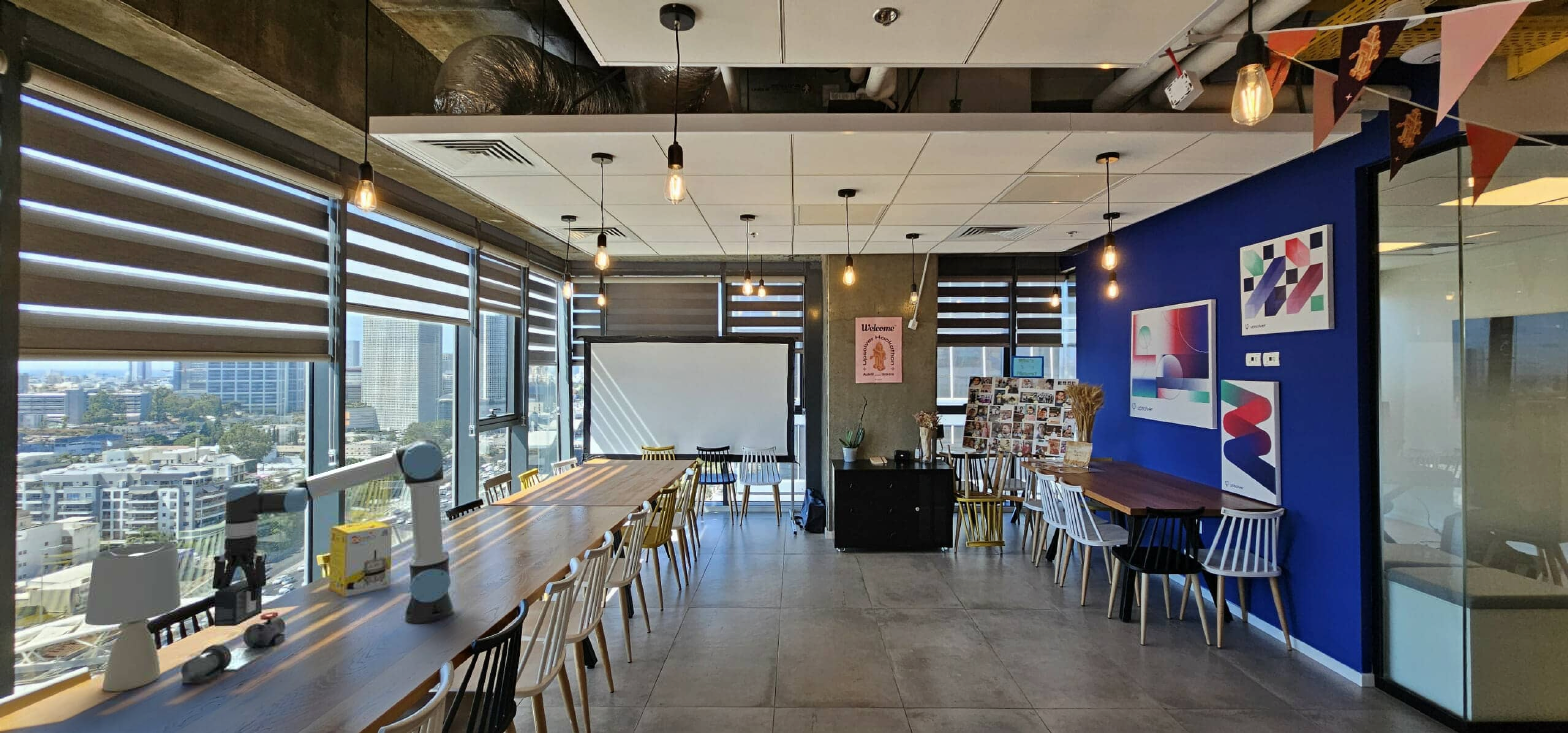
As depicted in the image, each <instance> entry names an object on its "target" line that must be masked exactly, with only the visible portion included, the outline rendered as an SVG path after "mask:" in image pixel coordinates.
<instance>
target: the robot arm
mask: <svg viewBox="0 0 1568 733" xmlns="http://www.w3.org/2000/svg"><path fill="white" fill-rule="evenodd" d="M443 465H444V456H443V453H442V449H441V447H440V446H439V445H438V444H437V442H435V441H432V440H430V439H418V440H416V441H413V442H411V443H409V444H406V445H404V446H401V447H397V448H395V449H393V451H392V452H390V453H386V454H383V455H380V456H377V457H373V458H370V459H367V460H363V461H361V462H357V463H353V464H349V465H346V466H342V467H339V468H336V469H332V470H329V471H326V472H322V473H319V474H315V475H311V476H308V477H306V478H302V479H298V480H291V481H288V482H286V483H284V484H282V485H281V486H280V487H279V488H276V489H261V488H260V485H259V484H258V483H250V482H249V483H239V484H234V485H230V486H229V487H228V488H227V490H226V498H225V523H224V536H225V538H224V547H223V548H224V550H225V551H224V554H223V553H221V554H217V555H216V556H213V562H214V570H213V579H212V589H213V590H215V589H217V591H218V590H221V589H223V588H225V587H228V586H230V585H231V583H232V580H233V577H234V575H235V573H236V570H237V568H238V567H239V568H240V569H241V570H242V571H243V573H244V575H245V579H246V580H247V582H248V585H249V589H250V590H248V591H247V599H246V613H249V612H251V611H254V610H256V600H257V599H258V595H259V588H261V587H262V588H264V587H266V585H267V574H266V560H267V556H268V555H267V553H263V554H260V553H258V552H257V550H256V547H257V546H258V535H257V533H258V520H259V515H271V514H272V515H273V514H287V513H290V514H293V513H297V512H304V511H305V510H306V509H307V506H308V502H309V501H311V500H314V499H317V498H322V497H324V496H328V495H331V494H335V493H338V492H341V491H344V490H347V489H350V488H354V487H356V486H360V485H364V484H367V483H370V482H373V481H377V480H380V479H384V478H386V477H391V476H394V475H396V474H400V475H402V476H403V479H404V485H405V486H407V487H408V488H409V491H410V506H411V508H410V509H411V523H412V539H413V556H412V559H411V560H410V562H409V574H410V584H409V590H410V593H411V595H410V597H411V598H410V599H409V602H408V605H407V608H406V610H405V614H404V620H405V622H407V623H410V624H429V623H435V622H438V621H441V620H444V619H446V618H448V617H450V616H451V615H452V614H453V613H454V605H453V602H452V600H451V596H450V593H449V588H450V587H451V577H450V576H451V575H450V564H449V563H450V553H449V552H448V551H447V550H444V548H443V547H444V545H443V544H444V543H443V532H442V531H443V530H442V515H441V513H442V512H441V500H440V499H441V498H440V497H441V496H440V483H441V482H442V481H443V480H444V466H443Z"/></svg>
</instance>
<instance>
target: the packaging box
mask: <svg viewBox="0 0 1568 733" xmlns="http://www.w3.org/2000/svg"><path fill="white" fill-rule="evenodd" d="M392 529H393V526H392V525H390V524H388V523H384V522H382V521H379V520H374V519H373V520H368V521H362V522H355V523H348V524H343V525H336V526H331V527H330V535H329V536H330V538H329V539H330V541H329V543H330V544H329V545H330V546H329V573H328V575H329V576H328V589H329V590H331V591H332V592H334V593H337V594H338V595H340V596H342V597H343V598H346V597H351V596H356V595H360V594H363V593H368V592H372V591H376V590H380V589H384V588H389V587H391V568H392V565H391V563H392Z"/></svg>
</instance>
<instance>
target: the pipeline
mask: <svg viewBox="0 0 1568 733" xmlns="http://www.w3.org/2000/svg"><path fill="white" fill-rule="evenodd" d="M278 616H279V612H276V611H273V612H272V611H271V612H267V613H264V614H261V615H260V620H262V621H264V622H256V623H253V624H251V625H250V626H248V627H247V628H246V629H245V630H244V633H243V642H244V643H245V644H244V645H245V646H247V647H237V648H235V649H233V650H232V651H230V649H229V648H228V647H227V646H225V645H223V644H220V643H217V644H212V645H210V646H207V647H206V648H204V649H203V650H202V651H201V653H200V655H198V656H196V657H194V658H192V659H190V660H188V661H186V662H185V663H183V665H182V667H181V671H180V672H181V676H182V677H181V679H182V681H181V684H182V683H201V684H210V683H211V681H212V680H214V681H215V680H217V679H219V678H221V677H220V676H222V674H221V673H222V672H238V671H239V670H241V669H244V668H245V667H246V666H249V665H250V664H251V663H253V662H255V661H257V660H259V659H260V658H262V657H264V656H265V655H268V654H269V653H270V652H273V651H274V650H275V647H267V646H277V645H278V644H280V643H281V642H283V641H285V633H284V632H285V629H286V623H285V621H284V620H283V619H282V618H280V617H278ZM218 677H219V678H218ZM209 682H210V683H209ZM212 682H213V681H212Z"/></svg>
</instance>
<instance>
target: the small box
mask: <svg viewBox="0 0 1568 733" xmlns="http://www.w3.org/2000/svg"><path fill="white" fill-rule="evenodd" d="M248 590H250V589H249V585H248V582H247V579H246V580H240V581H238V582H235V583H233V584H230V586H228V587H225V588H223V589H221V590H218V589H217V590H216V591H214V623H213V624H214V625H213V626H214V627H237V626H238V625H240V624H242V623H244V622H246V621H249V620H250V619H252V618H254V617H257V616H258V615H260V614H262V613H263V612H262V610H263V608H262V606H263V605H262V602H263V601H262V599H263V597H262V596H263V593H262V592H263V587H261V588H259V595H258V599H257V600H256V610H254V611H251V612H249V613H246V599H247V591H248Z"/></svg>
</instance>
